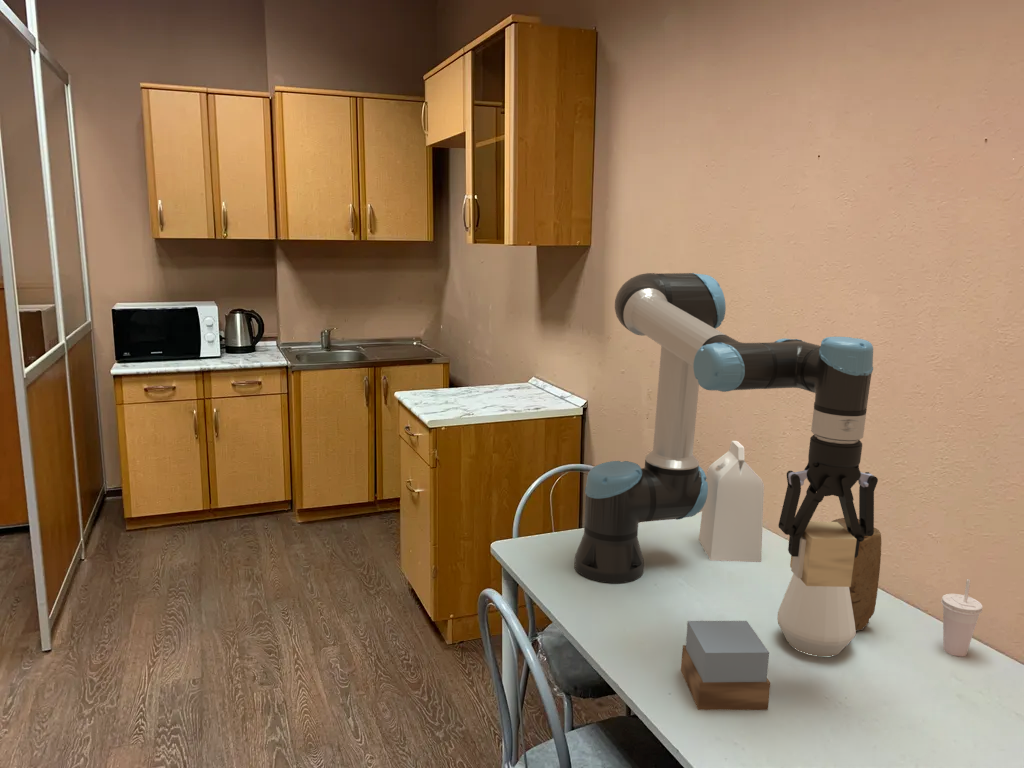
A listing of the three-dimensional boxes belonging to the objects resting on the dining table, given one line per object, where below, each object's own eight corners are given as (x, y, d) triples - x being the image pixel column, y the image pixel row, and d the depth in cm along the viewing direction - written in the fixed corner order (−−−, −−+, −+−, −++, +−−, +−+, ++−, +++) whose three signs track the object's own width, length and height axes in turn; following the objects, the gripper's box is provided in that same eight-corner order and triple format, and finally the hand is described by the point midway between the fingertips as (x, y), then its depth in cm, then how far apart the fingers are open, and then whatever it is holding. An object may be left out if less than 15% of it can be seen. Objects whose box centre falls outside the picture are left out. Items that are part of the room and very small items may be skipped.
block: (876, 631, 146) (889, 531, 142) (842, 636, 144) (854, 534, 140) (838, 605, 156) (849, 511, 153) (806, 608, 154) (816, 513, 151)
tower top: (685, 648, 130) (687, 620, 129) (744, 648, 130) (746, 620, 129) (703, 682, 120) (705, 652, 119) (766, 681, 120) (769, 652, 119)
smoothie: (960, 663, 136) (971, 589, 133) (927, 646, 141) (936, 574, 139) (983, 655, 139) (994, 582, 136) (949, 638, 144) (959, 568, 141)
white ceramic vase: (846, 672, 132) (855, 596, 130) (766, 648, 139) (773, 576, 136) (859, 638, 143) (867, 568, 141) (784, 618, 150) (791, 551, 148)
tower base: (680, 672, 131) (682, 645, 130) (744, 672, 132) (747, 645, 131) (697, 711, 121) (700, 682, 120) (767, 711, 121) (770, 682, 120)
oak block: (790, 566, 128) (795, 521, 127) (831, 567, 129) (837, 521, 127) (806, 586, 122) (812, 538, 120) (850, 586, 122) (856, 539, 120)
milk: (761, 562, 176) (771, 452, 171) (710, 560, 177) (719, 450, 172) (746, 541, 188) (755, 437, 183) (698, 540, 188) (706, 436, 183)
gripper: (781, 442, 116) (767, 584, 121) (912, 445, 117) (892, 586, 121) (764, 429, 124) (751, 563, 128) (887, 432, 124) (870, 565, 129)
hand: (820, 574), depth 125 cm, fingers closed on oak block, 7 cm apart
